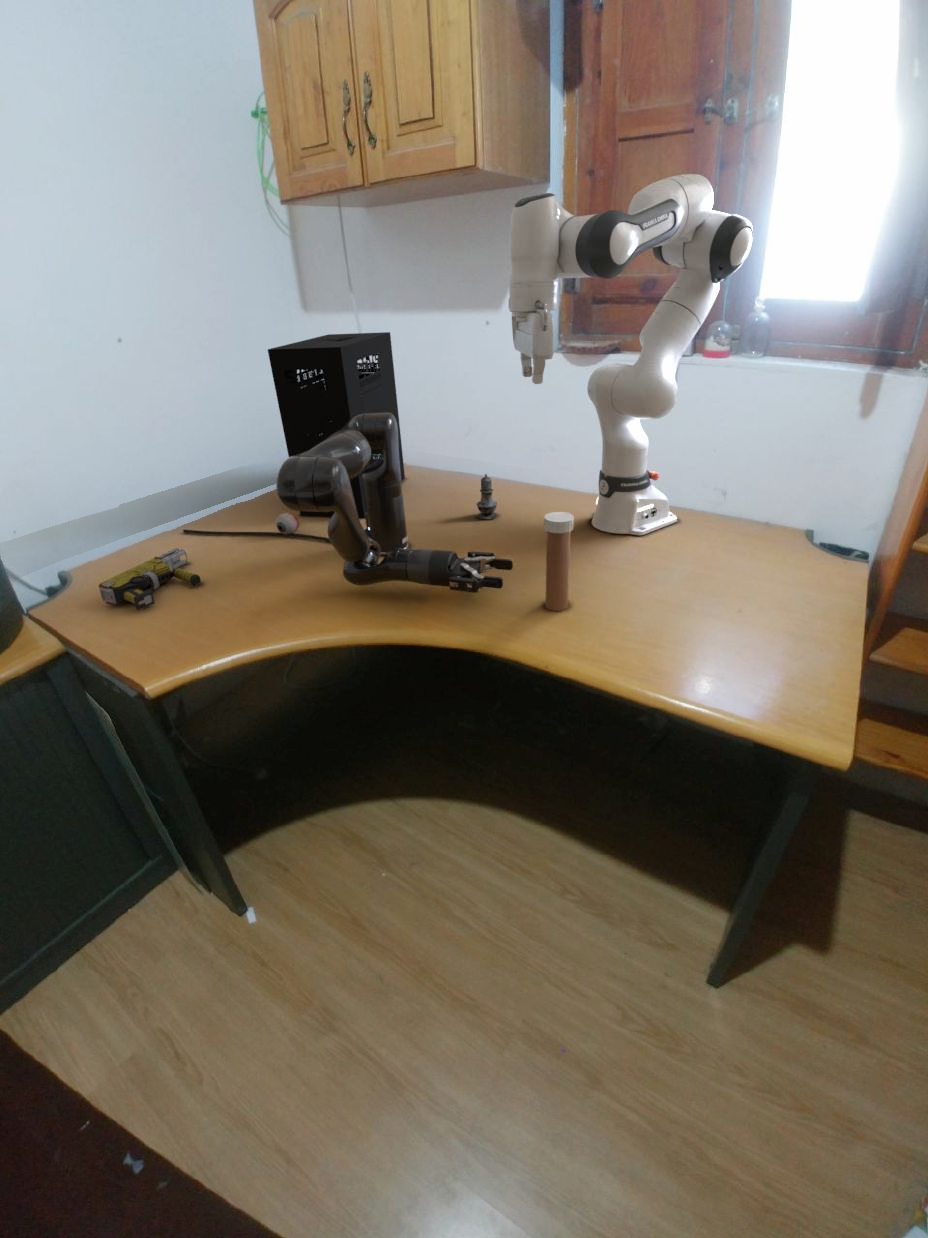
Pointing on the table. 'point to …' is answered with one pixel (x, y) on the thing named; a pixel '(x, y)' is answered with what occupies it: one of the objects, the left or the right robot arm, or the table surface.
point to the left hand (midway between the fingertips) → (507, 573)
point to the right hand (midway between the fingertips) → (532, 379)
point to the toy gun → (146, 580)
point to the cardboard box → (333, 392)
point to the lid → (559, 522)
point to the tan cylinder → (557, 570)
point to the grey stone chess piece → (486, 500)
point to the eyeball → (287, 523)
